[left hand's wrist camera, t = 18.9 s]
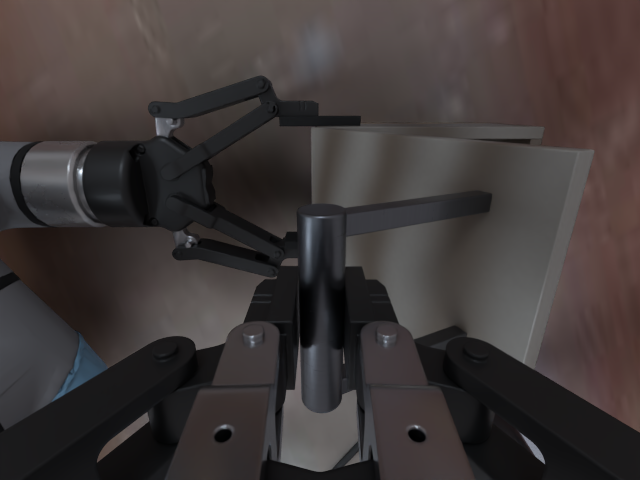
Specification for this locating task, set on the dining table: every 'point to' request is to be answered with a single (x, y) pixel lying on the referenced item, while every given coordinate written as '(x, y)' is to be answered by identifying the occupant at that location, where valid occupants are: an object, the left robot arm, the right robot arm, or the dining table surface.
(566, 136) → the dining table surface
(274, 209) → the dining table surface
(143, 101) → the dining table surface
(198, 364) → the left robot arm
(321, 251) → the panel with bar handle
